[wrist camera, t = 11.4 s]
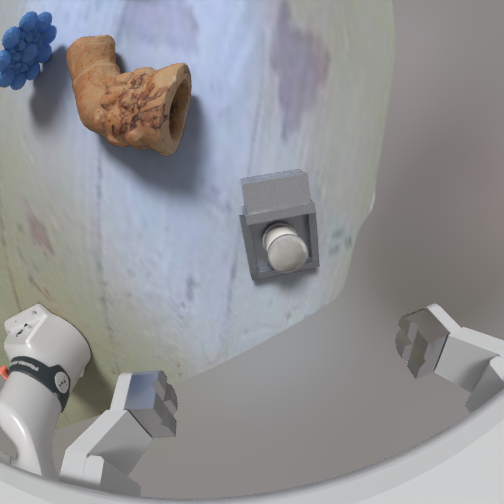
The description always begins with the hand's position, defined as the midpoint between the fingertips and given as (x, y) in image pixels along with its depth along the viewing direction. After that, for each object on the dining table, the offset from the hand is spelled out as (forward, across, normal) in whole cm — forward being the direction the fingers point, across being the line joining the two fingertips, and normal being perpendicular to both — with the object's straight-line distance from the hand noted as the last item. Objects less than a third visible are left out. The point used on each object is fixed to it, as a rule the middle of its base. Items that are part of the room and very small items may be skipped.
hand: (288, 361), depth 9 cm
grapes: (+31, +24, -27) cm, 48 cm away
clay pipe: (+31, +10, -15) cm, 36 cm away
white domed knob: (+30, -5, +9) cm, 32 cm away
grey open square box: (+31, -5, +7) cm, 32 cm away
